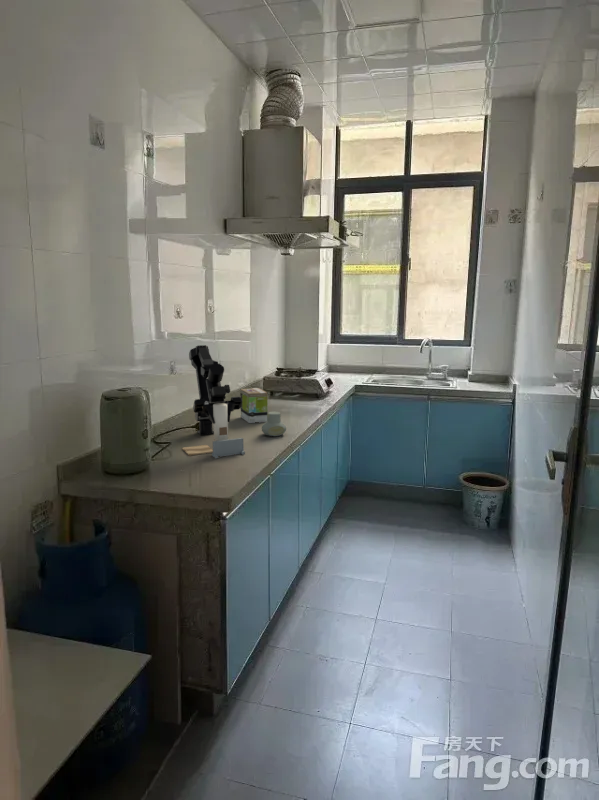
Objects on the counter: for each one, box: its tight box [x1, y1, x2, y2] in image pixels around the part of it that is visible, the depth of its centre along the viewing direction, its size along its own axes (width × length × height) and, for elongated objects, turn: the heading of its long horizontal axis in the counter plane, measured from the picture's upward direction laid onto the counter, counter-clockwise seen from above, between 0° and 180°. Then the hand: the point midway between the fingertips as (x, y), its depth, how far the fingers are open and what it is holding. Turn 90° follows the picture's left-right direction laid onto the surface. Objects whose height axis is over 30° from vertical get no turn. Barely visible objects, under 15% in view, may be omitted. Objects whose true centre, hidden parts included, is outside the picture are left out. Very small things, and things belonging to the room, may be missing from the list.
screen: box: [211, 437, 246, 459], centre depth 207 cm, size 4×12×6 cm, turn 117°
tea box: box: [239, 387, 269, 424], centre depth 264 cm, size 15×10×15 cm, turn 22°
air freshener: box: [261, 411, 287, 437], centre depth 236 cm, size 11×8×10 cm
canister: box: [213, 403, 229, 441], centre depth 209 cm, size 6×6×14 cm
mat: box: [182, 444, 213, 457], centre depth 212 cm, size 10×10×1 cm
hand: (221, 422), depth 208 cm, fingers closed on canister, 5 cm apart
